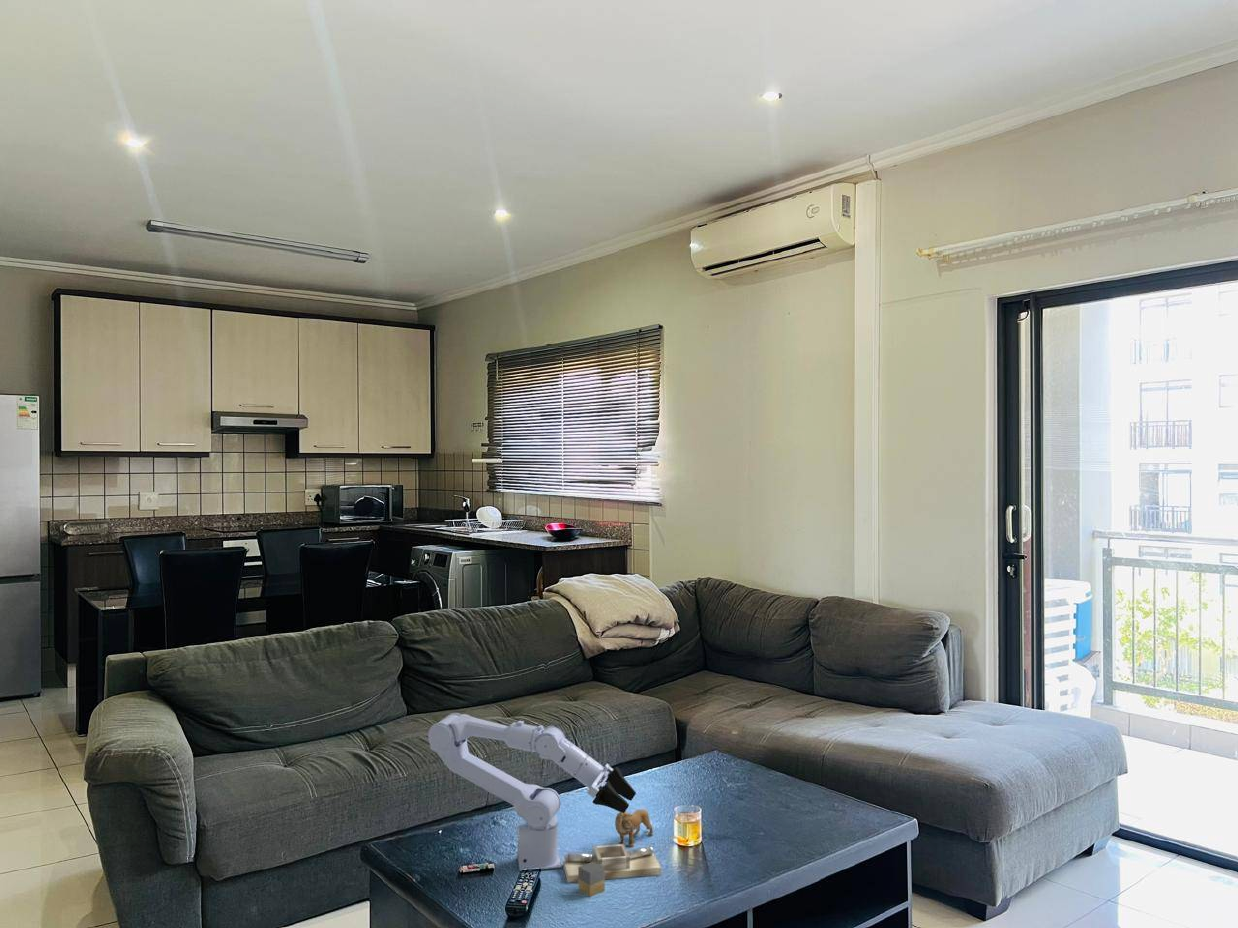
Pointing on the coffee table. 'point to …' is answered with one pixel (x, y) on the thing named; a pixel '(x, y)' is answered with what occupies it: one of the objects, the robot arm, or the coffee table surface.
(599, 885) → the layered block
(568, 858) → the shaft left
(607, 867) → the shaft board
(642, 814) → the lion figurine
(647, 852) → the shaft right
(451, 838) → the coffee table surface
